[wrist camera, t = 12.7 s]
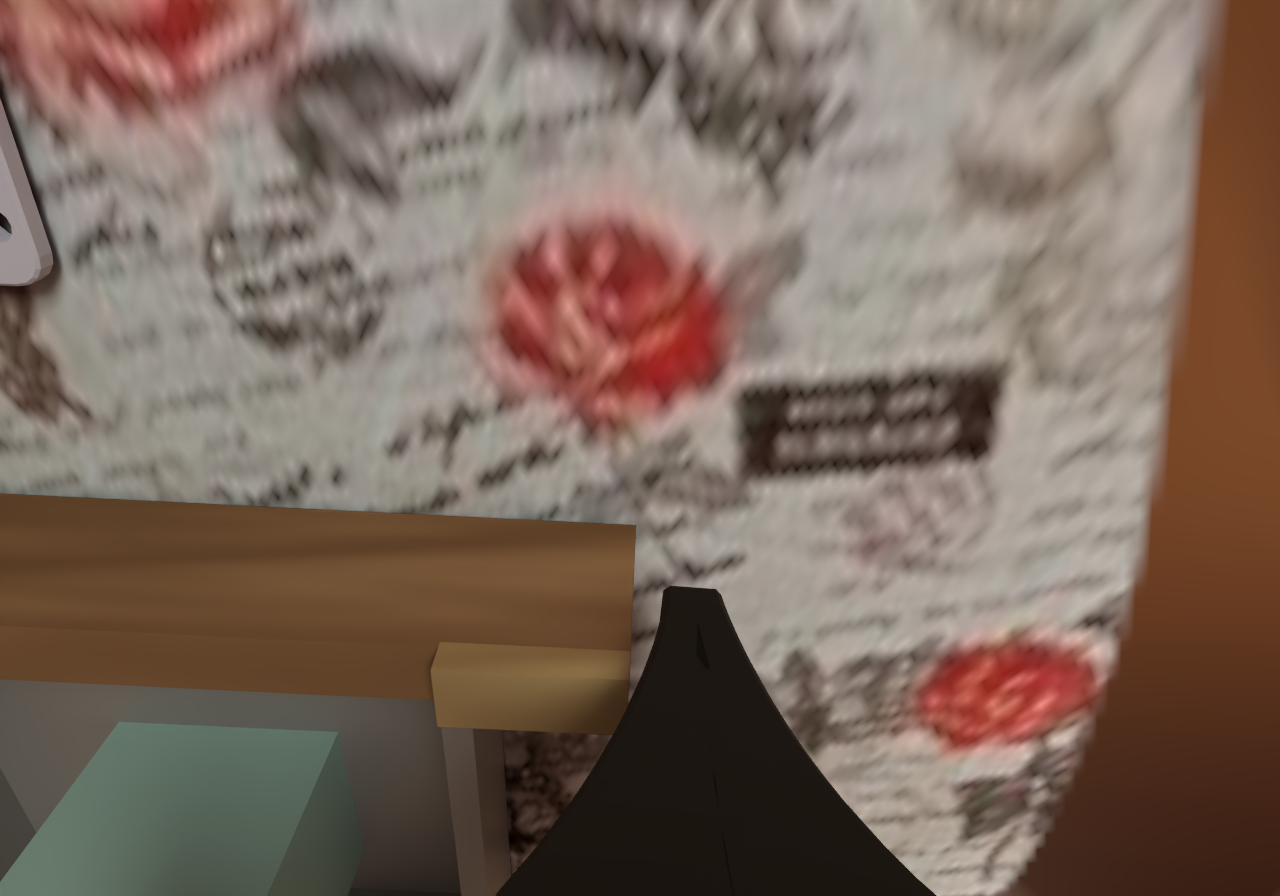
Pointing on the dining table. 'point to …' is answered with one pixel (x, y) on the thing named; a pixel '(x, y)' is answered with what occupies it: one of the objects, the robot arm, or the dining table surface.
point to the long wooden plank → (324, 606)
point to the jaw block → (199, 818)
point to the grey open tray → (368, 729)
